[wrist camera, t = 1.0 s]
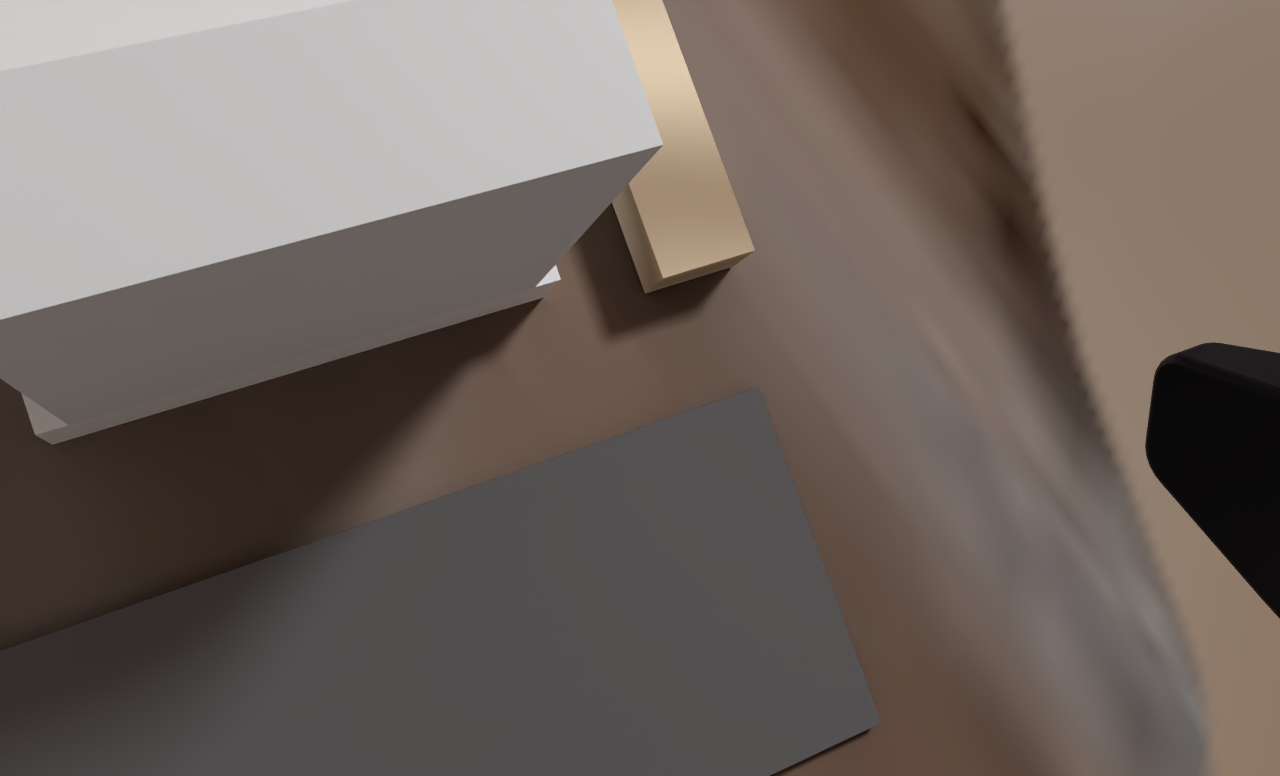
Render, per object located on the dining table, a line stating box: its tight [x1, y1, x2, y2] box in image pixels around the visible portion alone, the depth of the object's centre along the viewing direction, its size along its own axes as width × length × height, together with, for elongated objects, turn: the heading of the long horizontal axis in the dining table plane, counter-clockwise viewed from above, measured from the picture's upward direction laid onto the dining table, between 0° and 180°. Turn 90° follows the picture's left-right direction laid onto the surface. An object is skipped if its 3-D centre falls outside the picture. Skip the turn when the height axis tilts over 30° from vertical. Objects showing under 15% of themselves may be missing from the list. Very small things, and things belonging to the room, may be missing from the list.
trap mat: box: [0, 387, 882, 776], centre depth 21 cm, size 7×16×1 cm, turn 111°
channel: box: [612, 0, 755, 294], centre depth 21 cm, size 14×17×1 cm
